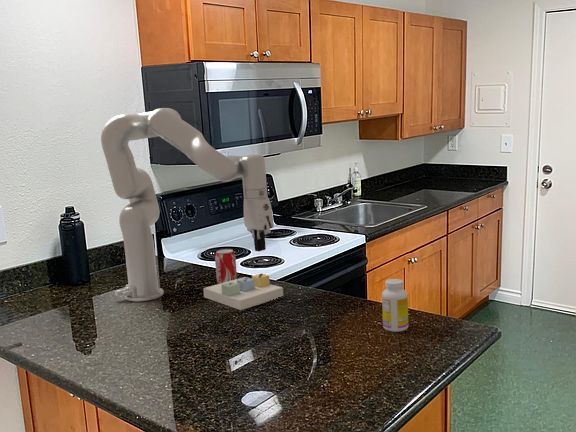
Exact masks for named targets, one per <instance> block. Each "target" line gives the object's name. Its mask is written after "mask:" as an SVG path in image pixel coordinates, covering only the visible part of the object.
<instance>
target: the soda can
mask: <svg viewBox="0 0 576 432" xmlns="http://www.w3.org/2000/svg"><path fill="white" fill-rule="evenodd" d="M214 258H215V259H214V261H215V262H214V263H215V265H214V266H215V272H216V273H215V275H216V283H217V284H221V283H224V282H228V281H232V280H235V279H238V276H237V275H238V271H237V261H236V260H237V259H236V254H235V253H234V250H233V249H231V248H224V249H223V248H221V249H219V250H216V254H215V255H214Z"/></svg>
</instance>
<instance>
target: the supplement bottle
mask: <svg viewBox="0 0 576 432" xmlns="http://www.w3.org/2000/svg"><path fill="white" fill-rule="evenodd" d="M384 286H385V287H386V288H385V289H384V290H383V291H382V292H381V304H382V305H381V306H382V326H383V328H384V330H386V331H388V332H395V333H397V332H398V333H399V332H404V331H406V330H407V329H409V302H408V301H409V298H408V297H409V296H408V292H407V291H406V290H405V289H403V287H404V280H403V279H400V278H389V279H386V280H385V283H384Z"/></svg>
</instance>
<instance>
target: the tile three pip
mask: <svg viewBox="0 0 576 432" xmlns="http://www.w3.org/2000/svg"><path fill="white" fill-rule="evenodd" d="M251 279H254V280H255V286H256V287H259V288H261V287H264V286H267V285H270V284H271V283H270V275H269V274H266V273H265V274H264V273H258V274H254V275H252V276H251Z"/></svg>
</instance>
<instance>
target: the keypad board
mask: <svg viewBox="0 0 576 432" xmlns="http://www.w3.org/2000/svg"><path fill="white" fill-rule="evenodd" d="M244 278H250V279H252V277H247V276H243V277H239V278H237V279H235V280H232V281H228V282H224V283H221V284H218V283H217V284H214V285H211V286H210V285H209V286H206V287H203V298H205V299H208V300H210V301H213V302H216V303H220V304H223V305H225V306H228V307H231V308H233V309H236V310H239V311H242V310H246V309H249V308H253V307H255V306H258V305H261V304H265V303H268V302H270V300H271V301H274V300H277V299H279V298H278V297H281V296H283V297H284V287H282V286H278V285H275V284H271V283H270V285H267V286H264V287H261V288H259V287H256V286H255V289H254V290H251V291H247V292H243V291H240V294H237V295H234V296H230V297H229V296H226V295H223V294H222V286H221V285H222V284H225V283H229V282H234V283H237V280H240V279H244ZM276 298H277V299H276ZM281 298H282V297H281ZM273 299H274V300H273Z"/></svg>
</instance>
